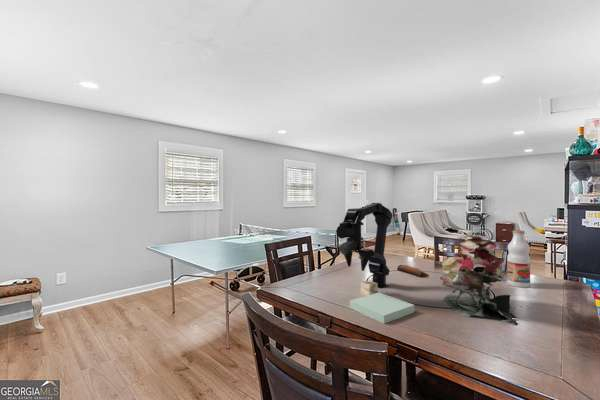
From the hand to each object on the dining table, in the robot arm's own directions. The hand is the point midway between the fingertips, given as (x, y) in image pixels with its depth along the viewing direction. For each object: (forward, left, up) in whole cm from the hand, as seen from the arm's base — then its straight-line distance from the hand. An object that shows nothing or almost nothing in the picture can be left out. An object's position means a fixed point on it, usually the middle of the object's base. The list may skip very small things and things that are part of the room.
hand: (355, 268), depth 134 cm
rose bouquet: (-30, +39, -13) cm, 51 cm away
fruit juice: (-79, +37, -13) cm, 88 cm away
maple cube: (-6, +3, -13) cm, 14 cm away
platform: (+4, +19, -13) cm, 23 cm away
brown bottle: (-55, -8, -13) cm, 57 cm away
